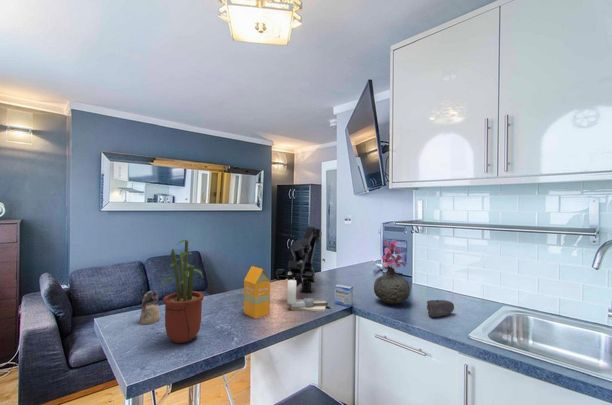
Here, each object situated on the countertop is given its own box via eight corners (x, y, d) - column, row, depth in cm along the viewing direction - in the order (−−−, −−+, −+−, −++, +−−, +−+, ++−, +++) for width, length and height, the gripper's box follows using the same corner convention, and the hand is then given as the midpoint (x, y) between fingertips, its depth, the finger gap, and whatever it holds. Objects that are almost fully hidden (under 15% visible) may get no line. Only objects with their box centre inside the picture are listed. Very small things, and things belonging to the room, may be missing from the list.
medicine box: (334, 304, 140) (334, 286, 140) (337, 301, 144) (338, 283, 144) (349, 307, 136) (350, 288, 136) (353, 304, 140) (353, 286, 140)
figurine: (146, 317, 120) (146, 288, 121) (163, 317, 120) (163, 288, 120) (135, 324, 113) (136, 293, 113) (153, 324, 113) (154, 294, 113)
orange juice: (258, 308, 132) (258, 264, 132) (269, 314, 126) (270, 268, 126) (243, 313, 127) (243, 267, 127) (254, 319, 120) (255, 270, 121)
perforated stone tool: (449, 311, 133) (449, 296, 133) (458, 316, 128) (458, 300, 128) (422, 315, 128) (422, 299, 128) (431, 319, 123) (431, 303, 123)
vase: (416, 304, 142) (417, 242, 142) (395, 312, 131) (396, 245, 131) (387, 295, 155) (387, 238, 155) (365, 301, 144) (366, 241, 144)
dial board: (294, 301, 143) (294, 298, 143) (332, 303, 141) (332, 300, 141) (290, 309, 131) (290, 307, 131) (332, 312, 129) (332, 309, 129)
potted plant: (207, 341, 100) (209, 240, 100) (157, 354, 91) (159, 243, 91) (194, 324, 114) (195, 235, 115) (150, 333, 105) (151, 237, 106)
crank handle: (326, 302, 137) (327, 278, 137) (329, 306, 133) (329, 280, 133) (286, 304, 134) (287, 279, 134) (287, 308, 130) (288, 282, 130)
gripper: (277, 252, 142) (268, 280, 132) (314, 255, 137) (307, 284, 127) (282, 265, 150) (274, 293, 139) (317, 268, 145) (312, 297, 134)
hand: (291, 291), depth 135 cm, fingers closed
